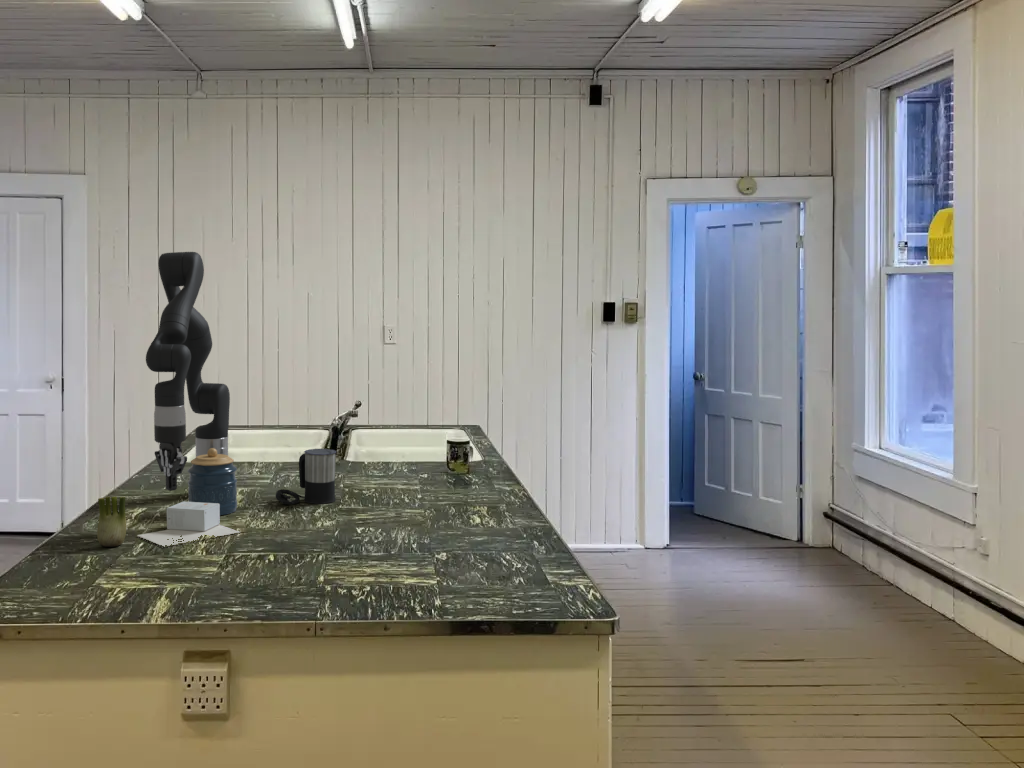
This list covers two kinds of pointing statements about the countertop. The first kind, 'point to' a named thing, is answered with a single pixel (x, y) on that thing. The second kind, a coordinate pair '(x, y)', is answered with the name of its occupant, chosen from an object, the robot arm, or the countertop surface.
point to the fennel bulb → (111, 522)
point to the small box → (193, 516)
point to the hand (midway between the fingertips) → (171, 489)
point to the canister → (213, 481)
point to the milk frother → (314, 478)
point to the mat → (184, 535)
